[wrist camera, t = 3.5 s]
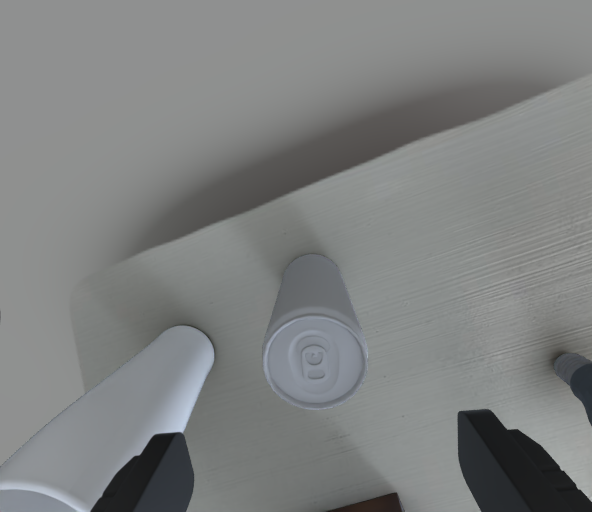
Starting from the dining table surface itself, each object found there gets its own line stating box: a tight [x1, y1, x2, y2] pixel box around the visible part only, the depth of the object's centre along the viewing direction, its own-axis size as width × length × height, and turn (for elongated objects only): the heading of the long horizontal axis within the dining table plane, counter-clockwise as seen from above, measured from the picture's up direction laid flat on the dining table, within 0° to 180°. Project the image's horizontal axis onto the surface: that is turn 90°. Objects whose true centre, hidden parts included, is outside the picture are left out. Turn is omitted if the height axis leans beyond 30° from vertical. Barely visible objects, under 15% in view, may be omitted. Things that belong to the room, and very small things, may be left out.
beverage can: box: [263, 254, 368, 410], centre depth 18 cm, size 5×5×12 cm
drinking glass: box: [0, 325, 214, 512], centre depth 19 cm, size 7×7×15 cm
